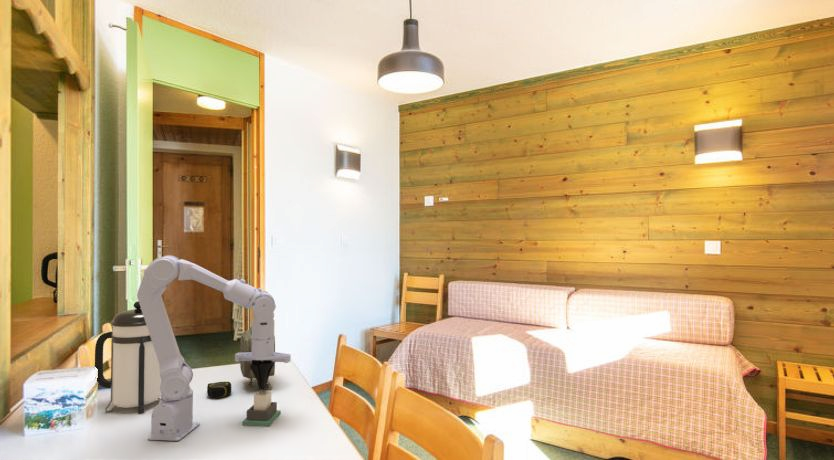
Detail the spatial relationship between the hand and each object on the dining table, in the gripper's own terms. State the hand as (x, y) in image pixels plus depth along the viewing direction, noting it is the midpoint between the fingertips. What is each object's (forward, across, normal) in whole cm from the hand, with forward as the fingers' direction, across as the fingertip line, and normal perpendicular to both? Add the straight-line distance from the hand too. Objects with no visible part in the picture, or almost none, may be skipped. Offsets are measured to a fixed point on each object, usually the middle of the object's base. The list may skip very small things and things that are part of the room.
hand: (262, 388), depth 120 cm
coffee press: (+8, +40, -6) cm, 42 cm away
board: (+8, 0, 0) cm, 8 cm away
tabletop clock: (+8, +12, -26) cm, 30 cm away
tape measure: (+9, +21, -16) cm, 28 cm away
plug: (+7, 0, 0) cm, 7 cm away
